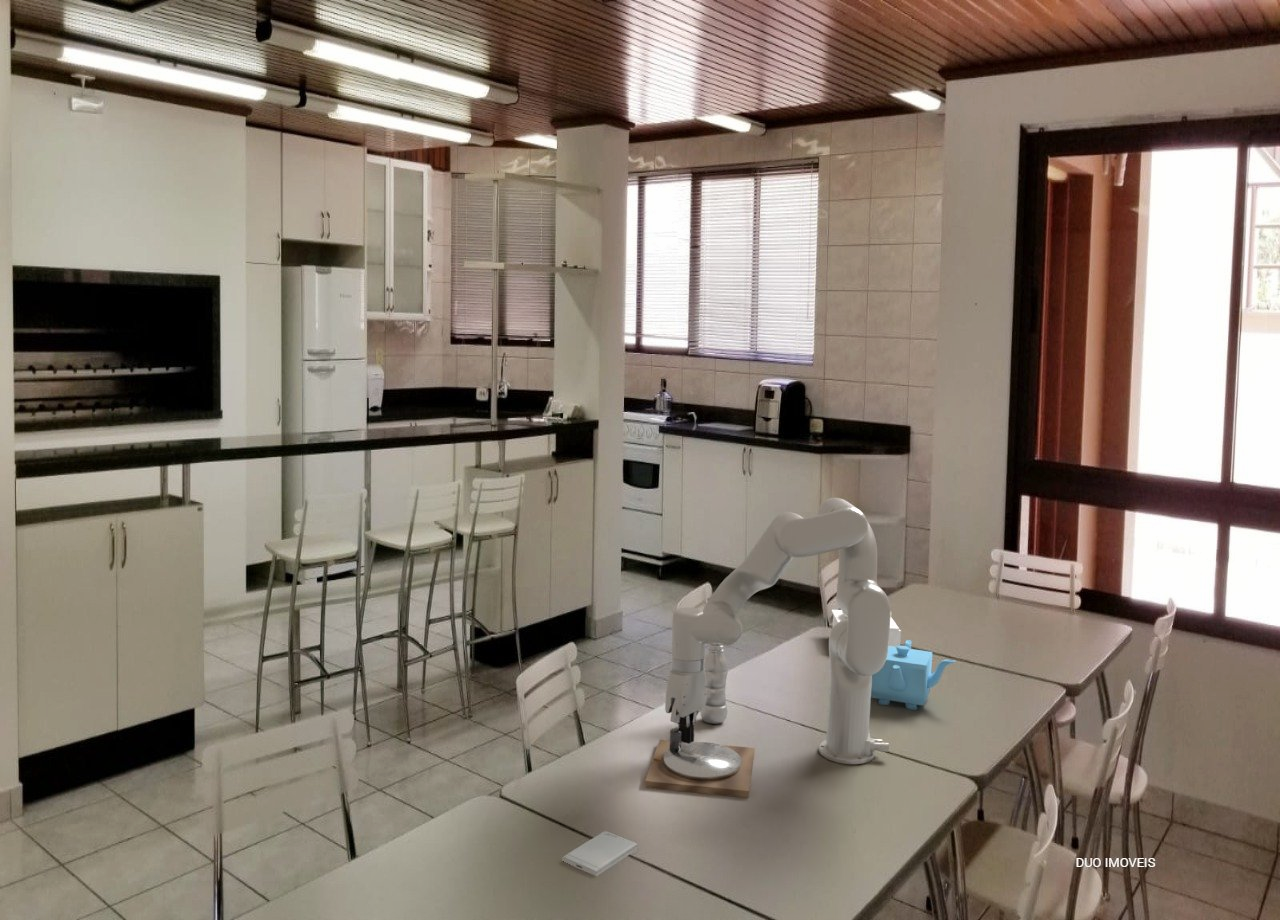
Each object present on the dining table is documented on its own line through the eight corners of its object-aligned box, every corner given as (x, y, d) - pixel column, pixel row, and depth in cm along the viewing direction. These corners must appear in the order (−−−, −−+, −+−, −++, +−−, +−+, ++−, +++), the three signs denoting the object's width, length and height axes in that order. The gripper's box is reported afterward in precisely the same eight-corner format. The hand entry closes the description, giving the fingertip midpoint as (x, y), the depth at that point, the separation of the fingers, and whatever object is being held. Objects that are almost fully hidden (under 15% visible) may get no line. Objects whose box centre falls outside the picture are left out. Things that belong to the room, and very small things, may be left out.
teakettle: (850, 693, 281) (853, 640, 279) (907, 684, 288) (911, 632, 286) (894, 719, 264) (897, 662, 262) (953, 709, 271) (957, 654, 269)
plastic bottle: (725, 728, 255) (728, 649, 252) (697, 725, 256) (700, 646, 254) (728, 718, 261) (731, 641, 258) (701, 715, 263) (704, 638, 260)
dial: (754, 759, 234) (755, 735, 233) (716, 787, 220) (717, 761, 219) (688, 740, 243) (689, 717, 242) (648, 766, 229) (649, 741, 228)
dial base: (754, 754, 241) (754, 746, 240) (748, 797, 219) (749, 789, 219) (659, 745, 244) (659, 738, 244) (645, 787, 223) (645, 779, 222)
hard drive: (604, 829, 202) (561, 855, 192) (638, 843, 197) (596, 870, 187) (604, 838, 202) (561, 864, 192) (637, 851, 197) (596, 879, 188)
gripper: (693, 651, 243) (692, 726, 246) (654, 668, 231) (652, 746, 234) (720, 658, 238) (718, 735, 241) (681, 676, 227) (679, 756, 229)
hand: (686, 740), depth 238 cm, fingers closed
